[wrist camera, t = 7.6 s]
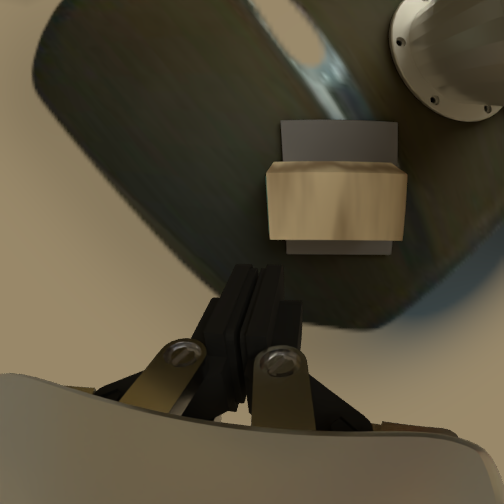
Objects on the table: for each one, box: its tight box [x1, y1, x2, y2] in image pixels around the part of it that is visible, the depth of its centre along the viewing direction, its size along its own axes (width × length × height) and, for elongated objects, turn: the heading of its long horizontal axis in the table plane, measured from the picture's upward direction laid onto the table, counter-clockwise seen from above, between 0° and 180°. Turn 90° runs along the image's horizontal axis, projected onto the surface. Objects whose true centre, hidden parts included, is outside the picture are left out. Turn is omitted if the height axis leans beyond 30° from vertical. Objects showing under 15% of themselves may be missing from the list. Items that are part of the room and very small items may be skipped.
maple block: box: [265, 161, 407, 241], centre depth 25 cm, size 5×5×10 cm
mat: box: [281, 120, 398, 255], centre depth 27 cm, size 10×12×1 cm
